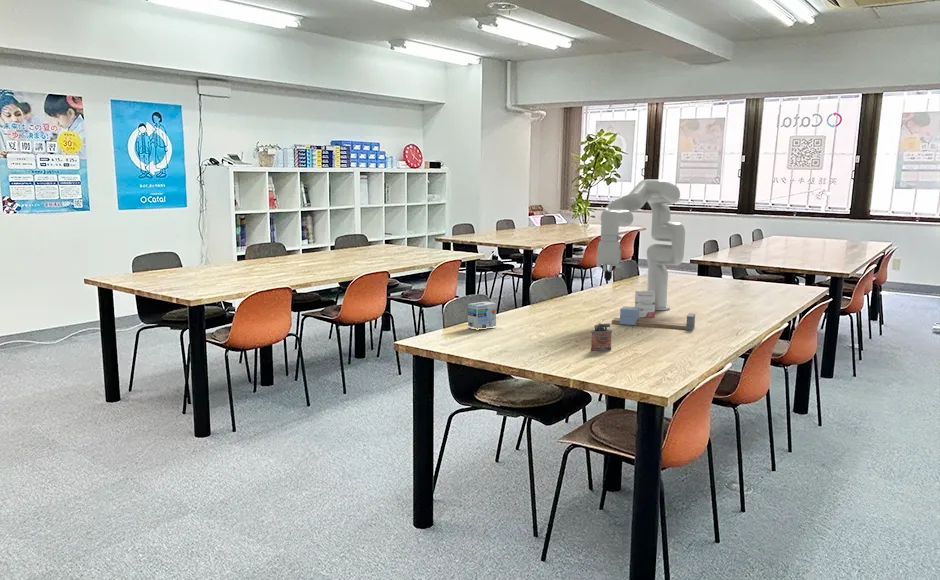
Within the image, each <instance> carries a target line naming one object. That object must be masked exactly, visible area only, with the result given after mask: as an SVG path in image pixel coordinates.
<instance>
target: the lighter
mask: <svg viewBox="0 0 940 580" xmlns="http://www.w3.org/2000/svg"><path fill="white" fill-rule="evenodd" d="M608 328H609V329H608ZM590 332H591V342H590V343H591V346H590V352H593V351H600V352H610V350H611V351H612V333H613V330H612V329H611V323H598V324H595V325H594V329H592V330H591V331H590Z"/></svg>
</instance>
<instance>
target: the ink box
mask: <svg viewBox="0 0 940 580" xmlns="http://www.w3.org/2000/svg"><path fill="white" fill-rule="evenodd" d="M634 292H635V294H634V307H637V308H639V318H655V311H656V310H655V292H654V291H647V290H638V289H636V290H635V291H634Z"/></svg>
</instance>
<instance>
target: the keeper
mask: <svg viewBox="0 0 940 580" xmlns="http://www.w3.org/2000/svg"><path fill="white" fill-rule="evenodd" d="M619 318H620V322H619V324H618V325H625V324H627V326H637V325H636V321H637V320H640V317H639V308H637V307H635V306H622V307H621V308H620V309H619Z"/></svg>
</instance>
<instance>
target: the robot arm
mask: <svg viewBox="0 0 940 580" xmlns="http://www.w3.org/2000/svg"><path fill="white" fill-rule="evenodd" d="M680 198H681V190H680V188H679V187H678V186H677V185H675V184H673V183H671V182H669V181H667V180H665V179H643V180H640V182H638V184H637V185H635V186H634V187H633V189H632V190H631V191H630V192H628V194H627V195H623V196H622V197H619V198H617V199H615V200H612V201H610V203H608V204H607V205H606V206H605V208H604V209H603V210H602V211H601V214H600V222H601V223H600V225H601V226H600V241H598V246H597V252H596V264H595V265H596V267H598V268H600V269H602V270H603V274H604V275H603V276H604V277H603V279H604V280H605V281H608V282H609V281H611V280H612V276H613V271H614V270H615V269H620V268H621V267H622V265H621V263H622V248H621V247H622V246H621V242H620V241H621V240H622V238H623V237H622V236H621V235H619V229H620V228H626V227H629V226H630V225H632V223H633V221H634V215H633V213H632V212H635V211H639V210H640V209H642V208H643V207H644V205H645V204H646V203H648V206H650V209H651V212H652V213H651V214H652V215H651V216H652V217H651V230H650V231H651V232H650V233H651V234H650V235H651V239H652V240H654V241H658V242H666V243H668V242H669V243H671V244H666V243H654V244H651V245H649V246H648V247H647V249H646V260H647V284H646V285H647V287H646V288H647V289H646V291H654V292H655V311H668V310H670V309H671V308H670V306H669V305H668V303H667V302H668V282H669V281H668V280H669V271H668V269H667V267H666V265H669V266H679V265H680V264H682V263H683V260H684V255H685V242H686V229H685V226H684V225H683V223H681V222H677V221H671V209H670V207H669V205H671V204H676V203H677V202H679V200H680ZM619 227H620V228H619ZM608 266H609V268H608Z"/></svg>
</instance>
